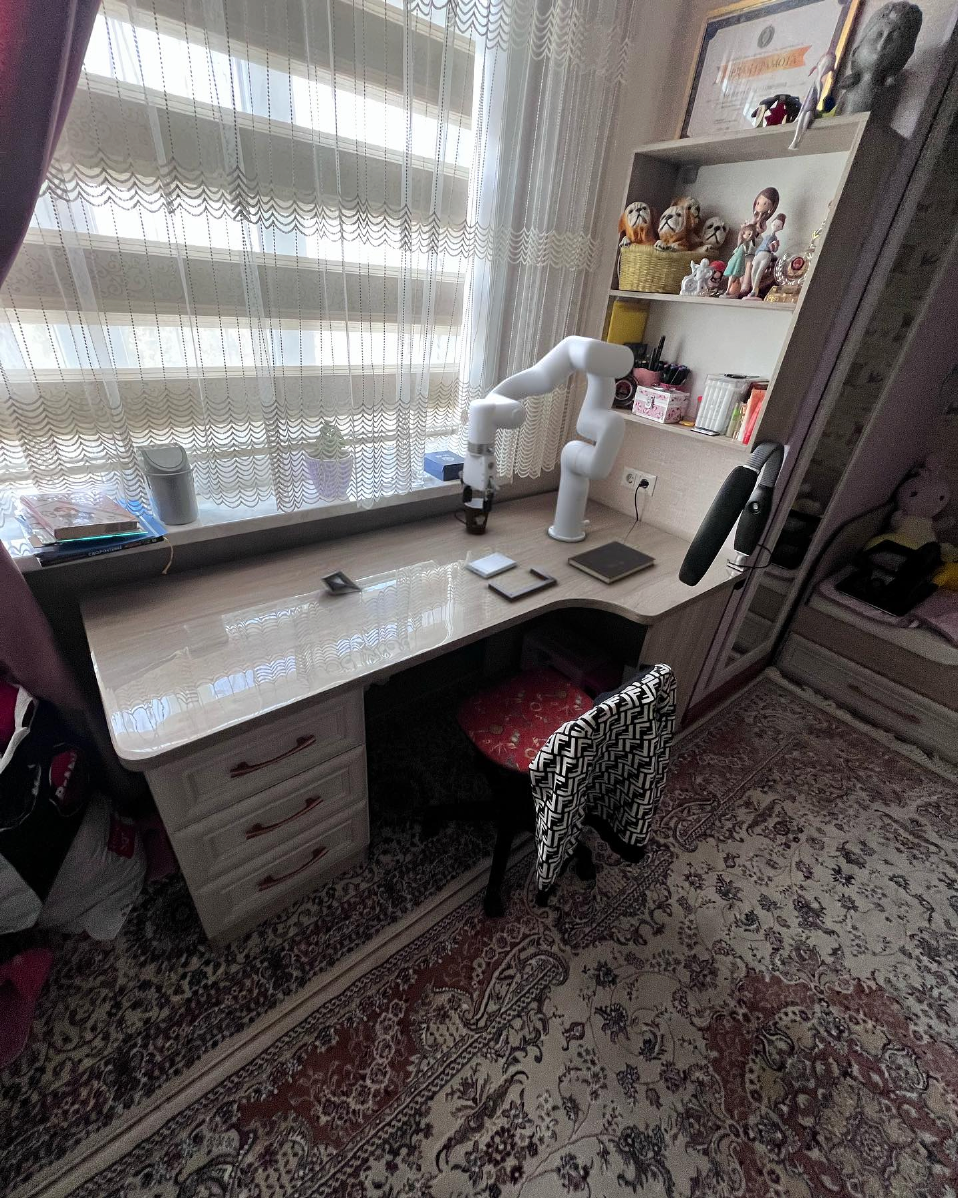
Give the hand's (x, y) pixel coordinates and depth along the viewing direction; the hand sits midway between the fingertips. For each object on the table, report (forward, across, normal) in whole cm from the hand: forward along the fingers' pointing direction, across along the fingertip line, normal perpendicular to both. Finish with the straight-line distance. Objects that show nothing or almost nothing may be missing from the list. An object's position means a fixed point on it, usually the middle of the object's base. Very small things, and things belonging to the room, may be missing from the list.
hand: (476, 506), depth 155 cm
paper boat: (+16, +2, +44) cm, 47 cm away
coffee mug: (+16, +16, -12) cm, 26 cm away
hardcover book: (+16, -28, -33) cm, 46 cm away
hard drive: (+16, -8, 0) cm, 18 cm away
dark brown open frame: (+16, -22, 0) cm, 27 cm away
